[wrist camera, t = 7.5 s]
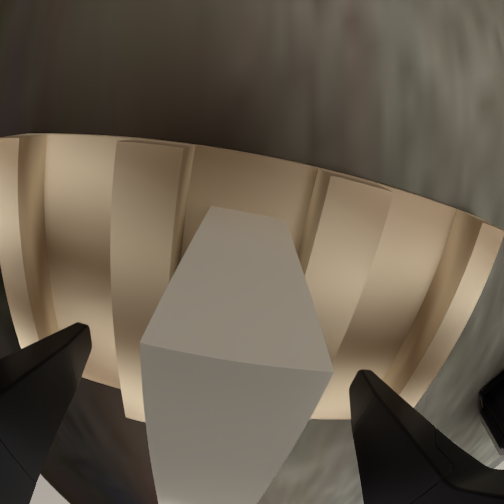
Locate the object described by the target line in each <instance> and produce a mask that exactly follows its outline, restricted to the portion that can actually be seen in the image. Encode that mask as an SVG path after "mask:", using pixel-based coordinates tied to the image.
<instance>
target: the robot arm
mask: <svg viewBox="0 0 504 504" xmlns="http://www.w3.org/2000/svg"><path fill="white" fill-rule="evenodd" d="M91 350H92V340H91V333H90V328H89V326H88V325H87V324H83V323H80V322H77V323H74V324H72V325H70V326H68V327H66V328H64V329H62V330H60V331H58V332H56V333H53V334H51V335H49V336H47V337H45V338H43V339H41V340H39V341H37V342H35V343H33V344H31V345H28V346H26V347H24V348H22V349H20V350H18V351H16V352H14V353H12V354H10V355H8V356H6V357H4V358H2V359H0V504H29V503H30V500H31V497H32V494H33V491H34V489H35V486H36V482H37V480H38V477H39V475H40V472H41V469H42V467H43V464H44V462H45V459H46V457H47V454H48V452H49V449H50V447H51V445H52V442H53V440H54V438H55V435H56V433H57V431H58V428H59V426H60V424H61V422H62V420H63V417H64V415H65V413H66V411H67V409H68V406H69V404H70V402H71V400H72V398H73V396H74V394H75V392H76V390H77V387H78V385H79V382H80V380H81V377H82V374H83V371H84V369H85V366H86V363H87V361H88V358H89V355H90V353H91ZM479 396H480V400H481V405H482V409H481V410H480V417H481V421H482V423H483V425H484V427H485V429H486V431H487V432H488V434H489V436H490V438H491V440H492V442H493V443H494V445H495V447H496V449H497V451H498V453H499V455H502V456H503V455H504V372H503V373H502V374H501V375H500V376H499V377H498V378H496V379H495V380H494V381H493V382H492V383H490V384H489V385H488V386H487V387H486V388H484V389H483V390H482V391H481V393H480V394H479ZM349 399H350V412H351V425H352V433H353V439H354V444H355V450H356V456H357V462H358V468H359V474H360V480H361V487H362V494H363V501H364V504H504V470H497V469H492V468H489V467H487V466H485V465H483V464H482V463H481V462H479V461H478V460H476V459H475V458H474V457H472V456H471V455H469V454H468V453H467V452H465V451H464V450H462V449H461V448H460V447H458V446H457V445H456V444H454V443H453V442H452V441H451V440H449V439H448V438H447V437H446V436H445V435H444V434H442V433H441V432H440V431H439V430H438V429H436V428H435V427H434V426H433V425H432V424H431V423H430V422H429V421H428V420H426V419H425V418H424V417H423V416H422V415H421V414H420V413H419V412H417V411H416V410H415V409H414V408H413V407H412V406H411V405H410V404H408V403H407V402H406V401H405V400H404V399H403V398H402V397H401V396H399V395H398V394H397V393H396V392H395V391H394V390H393V389H392V388H390V387H389V386H388V385H387V384H386V383H385V382H384V381H383V380H381V379H380V378H379V377H378V376H377V375H376V374H375V373H374V372H373V371H371V370H366V369H361V370H359V371H358V372H357V374H356V376H355V377H354V379H353V381H352V383H351V385H350V387H349Z"/></svg>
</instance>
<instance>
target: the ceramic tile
mask: <svg viewBox="0 0 504 504" xmlns="http://www.w3.org/2000/svg"><path fill="white" fill-rule="evenodd" d="M140 362H141V378H142V391H143V402H144V412H145V422H146V430H147V438H148V445H149V452H150V459H151V465H152V471H153V477H154V483H155V488H156V493H157V498H158V503H159V504H257V502H258V501H259V500H260V498H261V497H262V495H263V494H264V492H265V491H266V490H267V488H268V487H269V485H270V484H271V482H272V481H273V479H274V478H275V476H276V475H277V473H278V471H279V470H280V468H281V467H282V465H283V464H284V462H285V460H286V459H287V457H288V456H289V454H290V452H291V451H292V449H293V447H294V446H295V444H296V442H297V441H298V439H299V437H300V435H301V434H302V432H303V430H304V429H305V427H306V425H307V423H308V421H309V420H310V418H311V416H312V414H313V412H314V410H315V409H316V407H317V405H318V403H319V401H320V399H321V397H322V395H323V393H324V391H325V389H326V388H327V386H328V384H329V382H330V380H331V377H332V375H333V373H334V370H333V366H332V363H331V359H330V356H329V353H328V349H327V346H326V343H325V339H324V336H323V333H322V329H321V326H320V323H319V320H318V317H317V313H316V310H315V307H314V304H313V301H312V298H311V294H310V291H309V288H308V285H307V282H306V279H305V276H304V273H303V270H302V267H301V264H300V261H299V258H298V255H297V252H296V249H295V246H294V243H293V240H292V237H291V234H290V231H289V229H288V226H287V223H286V220H285V219H280V218H275V217H270V216H264V215H259V214H254V213H248V212H243V211H237V210H231V209H226V208H220V207H214V206H211V207H210V209H209V210H208V212H207V214H206V216H205V217H204V219H203V221H202V223H201V225H200V226H199V228H198V230H197V232H196V234H195V235H194V237H193V239H192V241H191V243H190V245H189V246H188V248H187V250H186V252H185V254H184V256H183V258H182V260H181V261H180V263H179V265H178V267H177V269H176V271H175V273H174V275H173V277H172V279H171V280H170V282H169V284H168V286H167V288H166V290H165V292H164V294H163V296H162V298H161V300H160V302H159V304H158V306H157V308H156V310H155V312H154V314H153V316H152V318H151V320H150V322H149V324H148V326H147V328H146V330H145V332H144V334H143V336H142V339H141V341H140Z"/></svg>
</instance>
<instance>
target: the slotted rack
mask: <svg viewBox="0 0 504 504" xmlns="http://www.w3.org/2000/svg"><path fill="white" fill-rule="evenodd" d="M211 206H214V207H220V208H226V209H231V210H237V211H243V212H248V213H254V214H259V215H264V216H270V217H275V218H280V219H285V220H286V223H287V226H288V229H289V231H290V234H291V237H292V240H293V243H294V246H295V249H296V252H297V255H298V258H299V261H300V264H301V267H302V270H303V273H304V276H305V279H306V282H307V285H308V288H309V291H310V294H311V298H312V301H313V304H314V307H315V310H316V313H317V317H318V320H319V323H320V326H321V329H322V333H323V336H324V339H325V343H326V346H327V349H328V353H329V356H330V359H331V363H332V366H333V370H334V373H333V375H332V377H331V380H330V382H329V384H328V386H327V388H326V389H325V391H324V393H323V395H322V397H321V399H320V401H319V403H318V405H317V407H316V409H315V410H314V412H313V414H312V416H311V418H310V419H351V412H350V399H349V387H350V385H351V383H352V381H353V379H354V377H355V376H356V374H357V372H358V371H359V370H361V369H366V370H371V371H373V372H374V373H375V374H376V375H377V376H378V377H379V378H380V379H381V380H383V381H384V382H385V383H386V384H387V385H388V386H389V387H390V388H392V389H393V390H394V391H395V392H396V393H397V394H398V395H399V396H401V397H402V398H403V399H404V400H405V401H406V402H407V403H408V404H410V405H411V406H412V407H413V408H414V407H415V405H416V404H417V402H418V401H419V400H420V398H421V397H422V395H423V394H424V393H425V391H426V390H427V388H428V387H429V385H430V384H431V382H432V381H433V379H434V378H435V376H436V375H437V373H438V372H439V370H440V369H441V367H442V365H443V364H444V362H445V361H446V359H447V357H448V356H449V354H450V352H451V350H452V349H453V347H454V345H455V344H456V342H457V340H458V338H459V336H460V335H461V333H462V331H463V329H464V327H465V325H466V323H467V321H468V319H469V318H470V316H471V314H472V312H473V309H474V307H475V305H476V303H477V301H478V299H479V297H480V295H481V292H482V290H483V288H484V286H485V283H486V281H487V279H488V276H489V274H490V271H491V269H492V266H493V264H494V261H495V259H496V256H497V253H498V251H499V248H500V245H501V242H502V239H503V236H504V231H503V230H502V229H500V228H498V227H496V226H494V225H492V224H491V223H489V222H487V221H485V220H483V219H481V218H479V217H477V216H475V215H473V214H471V213H468V212H465V211H463V210H460V209H457V208H454V207H452V206H449V205H446V204H443V203H440V202H438V201H435V200H432V199H429V198H426V197H423V196H420V195H417V194H414V193H410V192H407V191H404V190H401V189H398V188H394V187H391V186H388V185H384V184H381V183H377V182H374V181H370V180H367V179H363V178H359V177H356V176H352V175H348V174H344V173H340V172H336V171H332V170H328V169H324V168H320V167H316V166H311V165H307V164H302V163H298V162H293V161H288V160H284V159H279V158H274V157H269V156H264V155H258V154H253V153H247V152H242V151H236V150H230V149H224V148H217V147H211V146H204V145H197V144H189V143H181V142H173V141H165V140H155V139H145V138H134V137H122V136H108V135H89V134H57V133H29V134H21V135H13V136H6V137H0V264H1V270H2V276H3V281H4V286H5V291H6V295H7V300H8V304H9V308H10V312H11V316H12V320H13V323H14V327H15V330H16V334H17V337H18V340H19V343H20V346H21V349H22V348H24V347H26V346H28V345H31V344H33V343H35V342H37V341H39V340H41V339H43V338H45V337H47V336H49V335H51V334H53V333H56V332H58V331H60V330H62V329H64V328H66V327H68V326H70V325H72V324H74V323H77V322H80V323H83V324H87V325H88V326H89V328H90V333H91V340H92V350H91V353H90V355H89V358H88V361H87V363H86V366H85V369H84V371H83V374H82V377H83V378H86V379H89V380H92V381H96V382H99V383H102V384H105V385H109V386H112V387H115V388H119V389H121V392H122V398H123V404H124V410H125V415H126V417H127V418H130V419H134V420H138V421H142V422H145V412H144V402H143V391H142V378H141V362H140V341H141V339H142V336H143V334H144V332H145V330H146V328H147V326H148V324H149V322H150V320H151V318H152V316H153V314H154V312H155V310H156V308H157V306H158V304H159V302H160V300H161V298H162V296H163V294H164V292H165V290H166V288H167V286H168V284H169V282H170V280H171V279H172V277H173V275H174V273H175V271H176V269H177V267H178V265H179V263H180V261H181V260H182V258H183V256H184V254H185V252H186V250H187V248H188V246H189V245H190V243H191V241H192V239H193V237H194V235H195V234H196V232H197V230H198V228H199V226H200V225H201V223H202V221H203V219H204V217H205V216H206V214H207V212H208V210H209V209H210V207H211Z"/></svg>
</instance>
